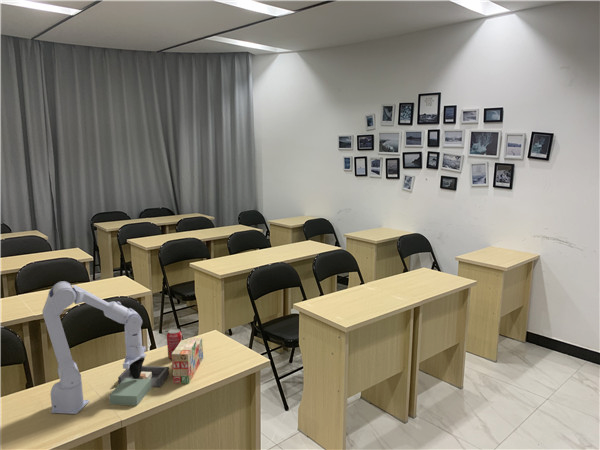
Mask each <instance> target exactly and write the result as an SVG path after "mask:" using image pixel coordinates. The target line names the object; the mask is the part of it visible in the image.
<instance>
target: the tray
mask: <svg viewBox="0 0 600 450" xmlns="http://www.w3.org/2000/svg"><path fill="white" fill-rule="evenodd" d="M141 372H152V377H151V387H152V388H161V386H162V385H163V384H164V382H165V381H166V380H167V378H168V377H169V376H170V367H169V366H162V365H161V366H159V365H142V368H141ZM117 378H118V385H119V384H120V383H121V382H122V381H123V380H124V379H125V378H133V377H132V374H131V372H130V370H129V369H125V370H124V371H123V372H122V373H121V374H120V375H119V376H118V377H117Z"/></svg>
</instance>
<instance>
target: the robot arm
mask: <svg viewBox="0 0 600 450" xmlns="http://www.w3.org/2000/svg"><path fill="white" fill-rule="evenodd" d="M81 303H85V304H86V305H88V306H91V307H93V308H96V309H99V310H101V311H103V315H104V316H105V317H106V318H109V319H111V320H112V321H114V322H117V323H118V324H122V325H124V343H125V358H124V362H123V363H122V368H123V369H125V370H126V369H129V370H130V372H131V374H132V377H133V379H138V378H139V377H140V374H141V368H142V366H143V364H144V362H145V357H146V356H147V354H146V353H145V352H146V351H147V348H146V347H147V346H146V345H143V336H142V328H141V327H142V325H143V319H142V317H141V315H140V314H139V313H138V312H137V311H136V310H135V309H133V308H131V307H129V308H128V307H126V306H124V305H122V303H121V302H120V301H114V300H113V301H109V302H108V301H106V300H104V299H102V298H101V297H99V296H97V295H95V294H93V293H92V292H90V291H88V290H86V289H84V288H82V287H80V286H78V285H75V284H71V283H70V282H68V281H65V280H64V281H61V280H60V281H58V282H57V283H55V284H54V285H53V286H52V287H51V288H50V290H49V291H48V294H47V298H46V301H45V303H44V305H43V308H42V311H41V312H42V316H43V319H44V323H45V326H46V329H47V332H48V336H49V339H50V342H51V345H52V349H53V352H54V354H55V359H56V361H57V366H58V367H57V370H56V371H57V374H58V377H59V381H58V382H56V383H54V384H53V385H52V387H51V390H50V402H51V410H50V413H51V414H69V415H77V414H78V413H80V411H82V409H83V408H84V407H85V406H86V405H87V404H88V403H89V402H90V400H89V399H84V392H83V381H82V375H81V372H80V370H79V368H78V364H77V362H75V361H74V360H73V357H72V353H71V350H70V346H69V344H68V340H67V337H66V333H65V331H64V327H63V323H62V320H61V317H60V316H61V314H62V313H63V312H64V310H66V309H67V308H69V307H70V306H71V305H73V304H74V305H78V304H81Z"/></svg>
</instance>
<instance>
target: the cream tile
mask: <svg viewBox="0 0 600 450" xmlns="http://www.w3.org/2000/svg"><path fill="white" fill-rule="evenodd" d="M141 373H145V374H146V379H151V377H152V372H141Z"/></svg>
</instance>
